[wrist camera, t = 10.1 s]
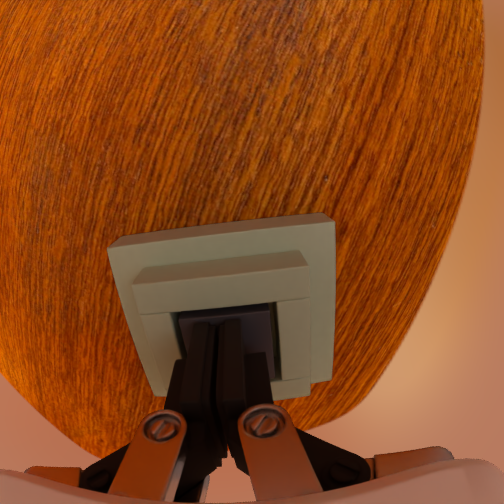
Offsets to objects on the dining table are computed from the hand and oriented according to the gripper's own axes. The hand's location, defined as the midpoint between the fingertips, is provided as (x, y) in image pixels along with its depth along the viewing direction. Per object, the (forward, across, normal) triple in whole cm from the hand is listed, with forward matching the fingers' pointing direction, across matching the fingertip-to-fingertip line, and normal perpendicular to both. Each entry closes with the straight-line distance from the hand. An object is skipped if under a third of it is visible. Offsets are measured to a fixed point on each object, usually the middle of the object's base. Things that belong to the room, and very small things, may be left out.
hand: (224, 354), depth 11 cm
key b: (+2, 0, 0) cm, 2 cm away
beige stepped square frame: (+4, 0, 0) cm, 4 cm away
